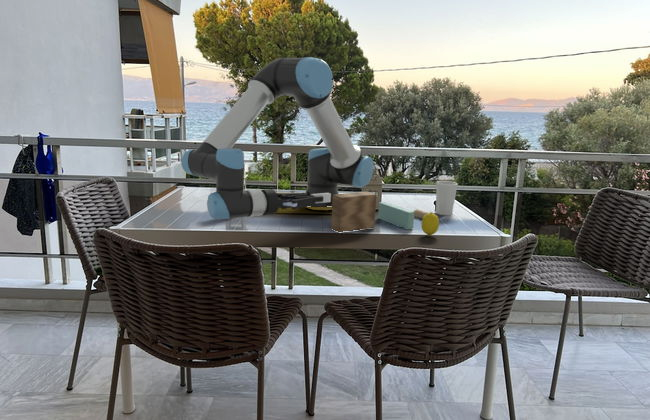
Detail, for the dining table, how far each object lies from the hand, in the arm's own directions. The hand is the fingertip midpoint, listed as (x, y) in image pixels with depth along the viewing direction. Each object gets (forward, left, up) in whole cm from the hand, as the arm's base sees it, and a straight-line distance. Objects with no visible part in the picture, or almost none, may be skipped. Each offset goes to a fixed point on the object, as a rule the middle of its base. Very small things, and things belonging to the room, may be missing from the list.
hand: (329, 197), depth 157 cm
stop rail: (+18, +22, -12) cm, 31 cm away
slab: (+6, +8, -12) cm, 16 cm away
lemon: (+31, +11, -12) cm, 35 cm away
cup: (+33, +46, -12) cm, 58 cm away
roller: (+27, +32, -12) cm, 44 cm away
